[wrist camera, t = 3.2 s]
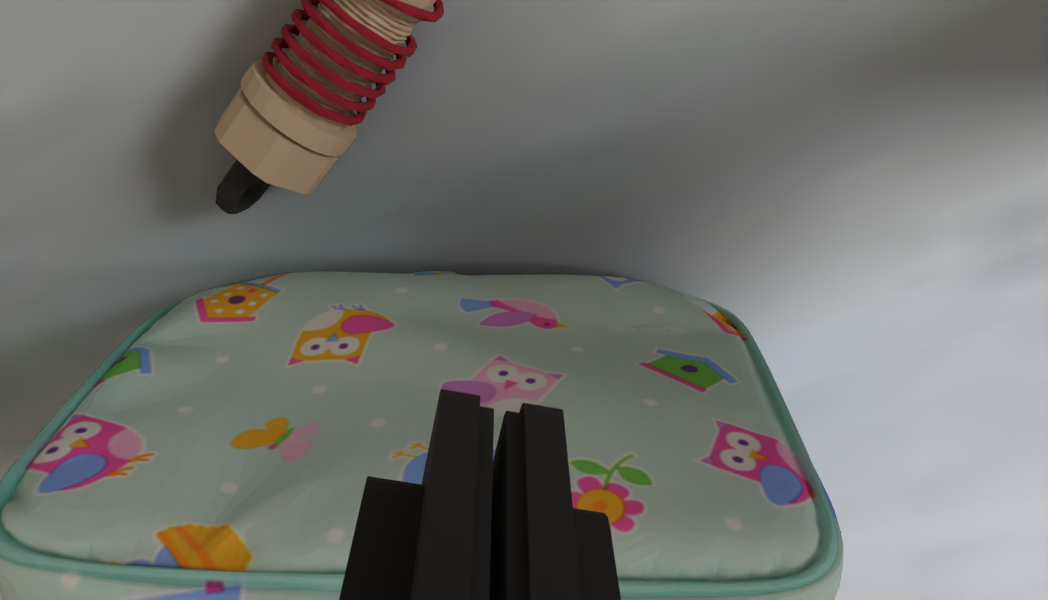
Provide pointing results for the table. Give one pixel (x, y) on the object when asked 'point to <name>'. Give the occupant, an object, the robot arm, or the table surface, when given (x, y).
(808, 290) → the table surface
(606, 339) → the lunch box
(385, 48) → the shock absorber
